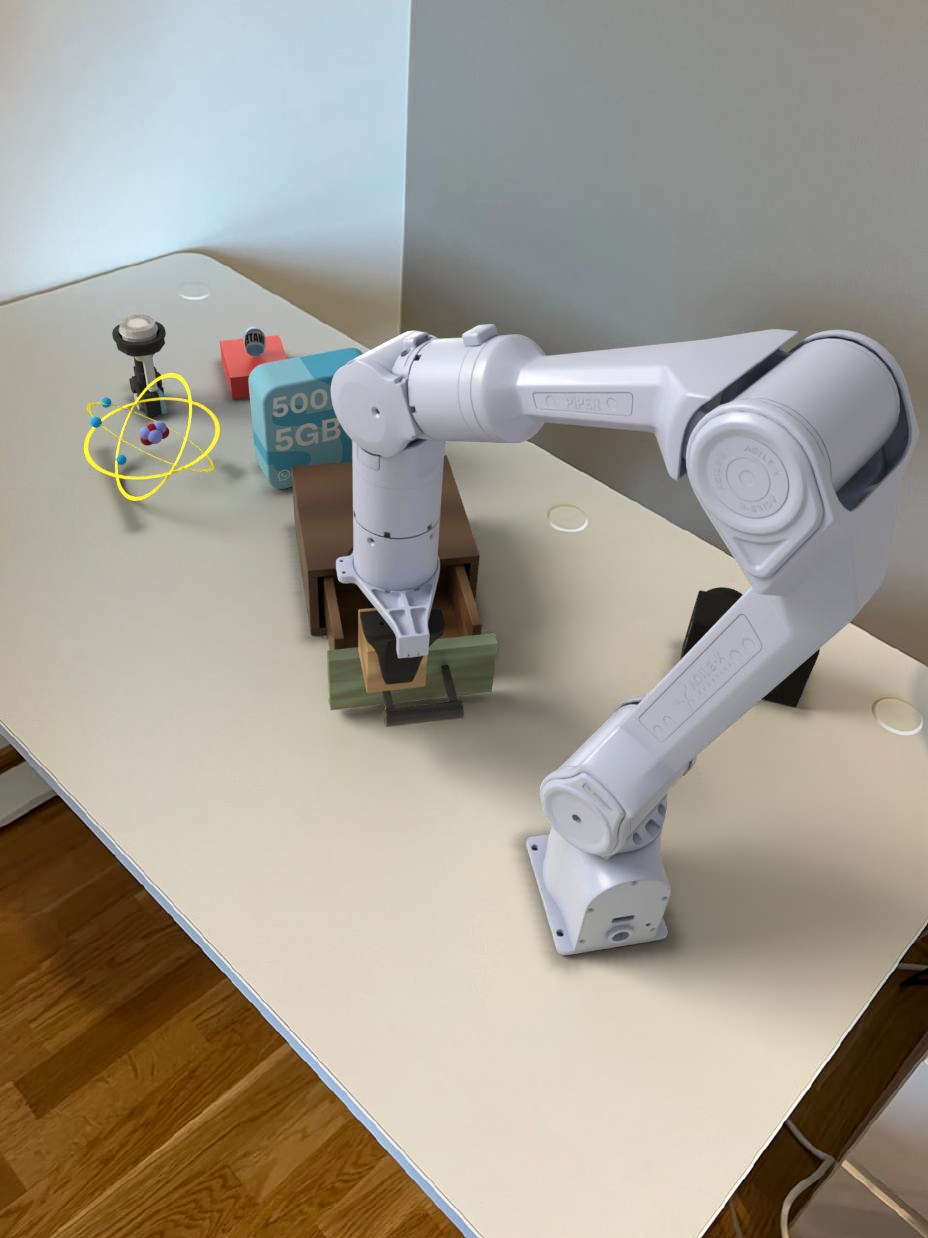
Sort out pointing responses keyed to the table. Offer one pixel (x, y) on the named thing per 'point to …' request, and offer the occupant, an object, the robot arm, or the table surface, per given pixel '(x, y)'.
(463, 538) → the cabinet
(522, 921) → the table surface
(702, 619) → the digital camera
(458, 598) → the drawer
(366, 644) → the block
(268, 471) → the data package
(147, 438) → the atom model
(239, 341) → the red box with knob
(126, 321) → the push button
